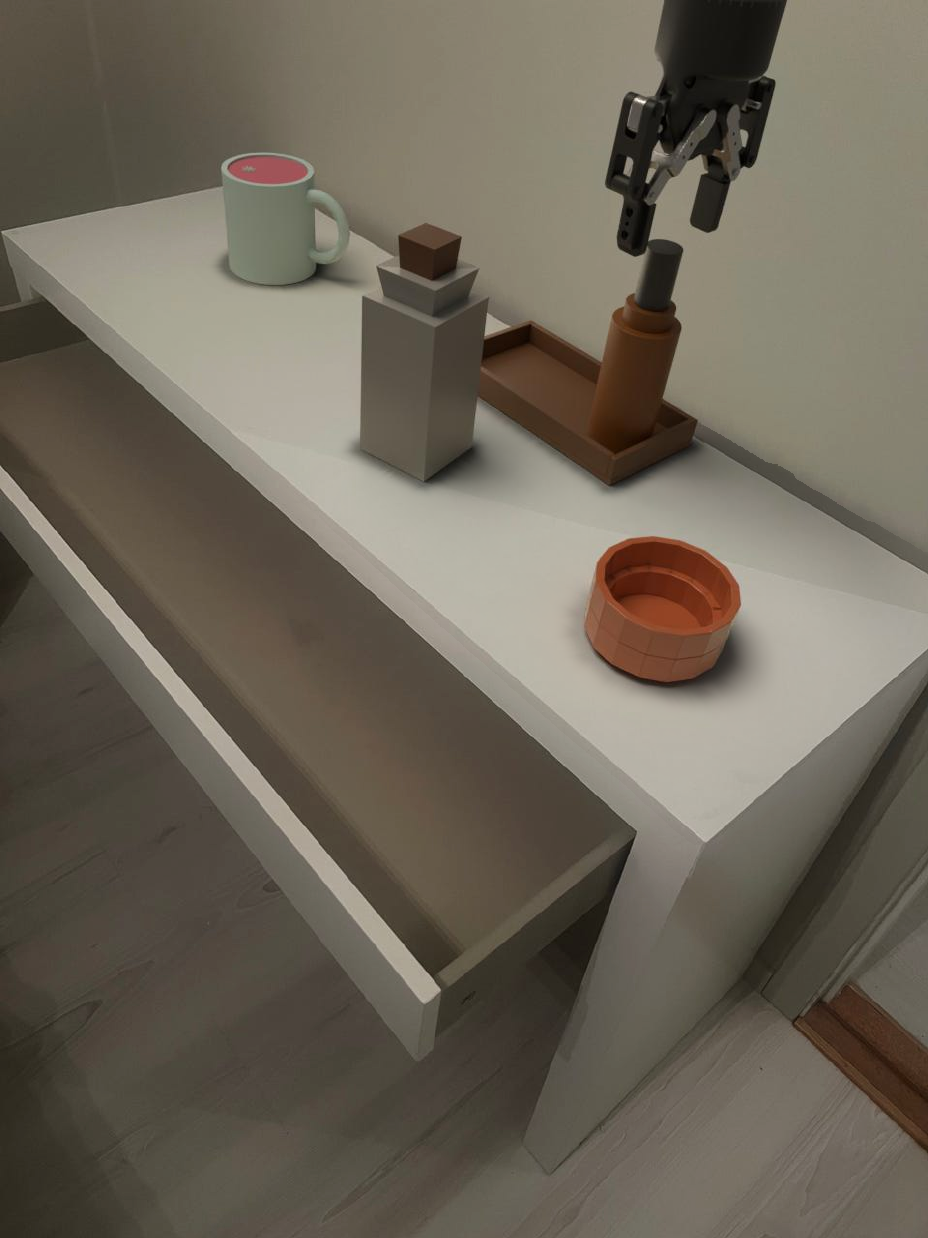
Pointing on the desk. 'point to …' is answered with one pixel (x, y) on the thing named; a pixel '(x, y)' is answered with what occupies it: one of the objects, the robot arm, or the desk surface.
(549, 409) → the tray
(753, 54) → the robot arm
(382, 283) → the perfume bottle
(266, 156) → the mug
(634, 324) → the bottle
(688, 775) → the desk surface
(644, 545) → the bowl
